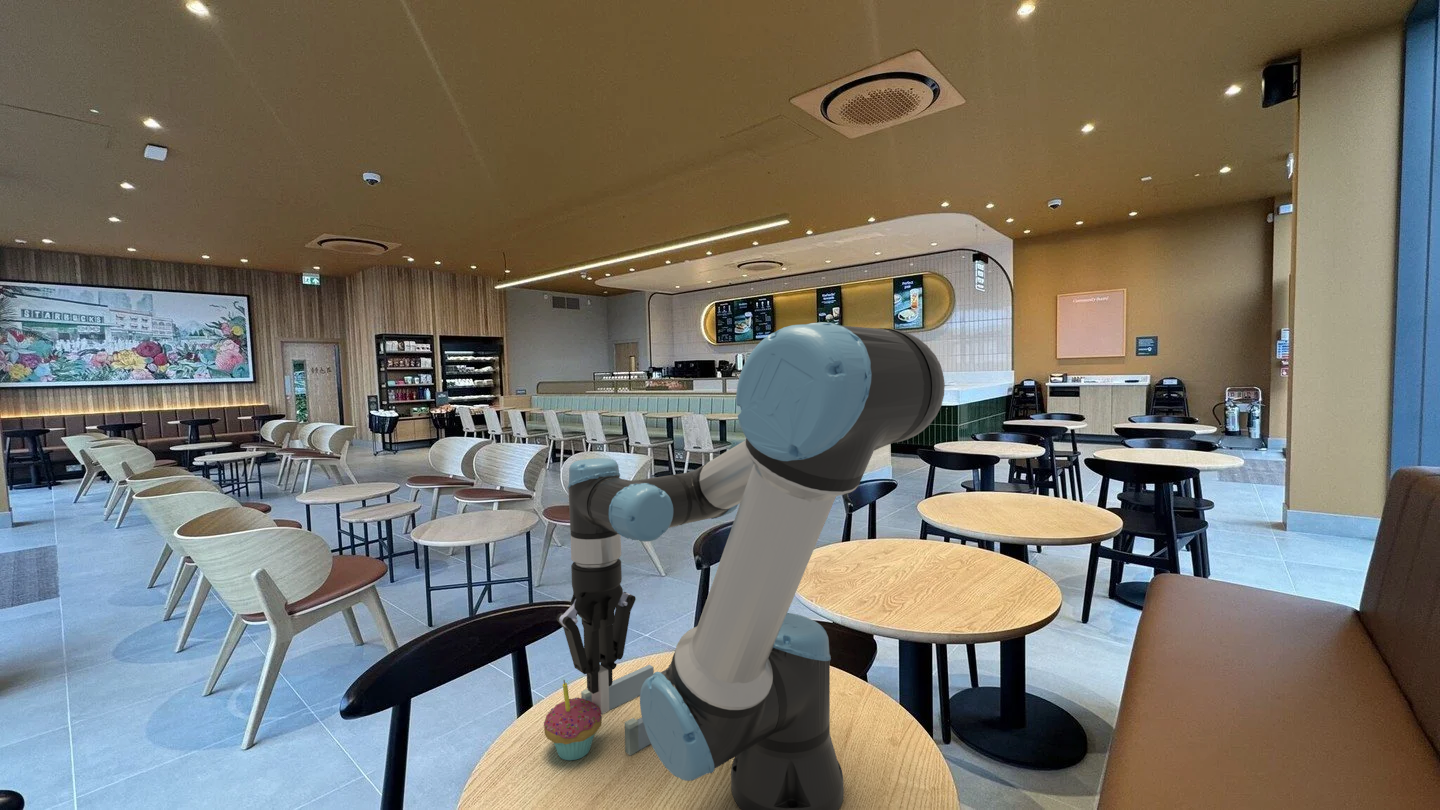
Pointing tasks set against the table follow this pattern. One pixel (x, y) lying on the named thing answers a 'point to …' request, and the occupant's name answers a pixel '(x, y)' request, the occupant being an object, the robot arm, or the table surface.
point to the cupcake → (572, 726)
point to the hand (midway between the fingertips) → (600, 708)
